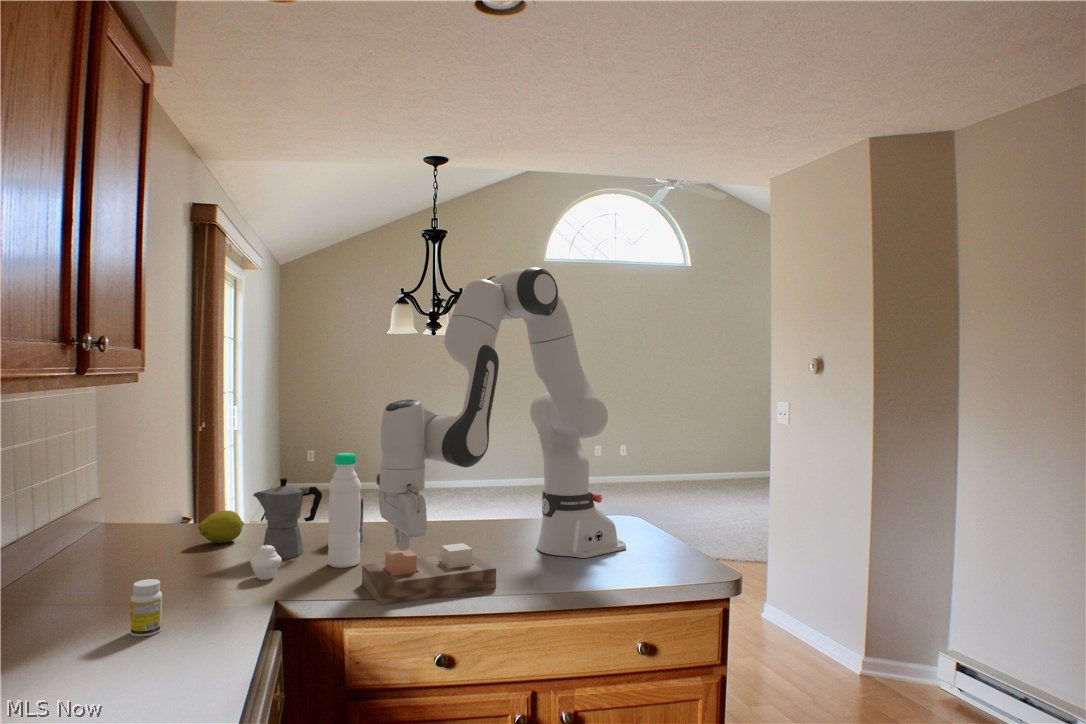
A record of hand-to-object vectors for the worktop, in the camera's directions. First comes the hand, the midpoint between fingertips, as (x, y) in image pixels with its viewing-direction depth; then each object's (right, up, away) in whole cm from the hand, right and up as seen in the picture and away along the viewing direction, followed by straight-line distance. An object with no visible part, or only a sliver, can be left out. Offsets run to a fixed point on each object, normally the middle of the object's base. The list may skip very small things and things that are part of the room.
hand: (402, 549), depth 147 cm
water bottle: (-17, -8, +17) cm, 25 cm away
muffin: (-30, -8, +7) cm, 32 cm away
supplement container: (-21, -8, +38) cm, 44 cm away
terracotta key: (0, -6, 0) cm, 6 cm away
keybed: (+5, -8, +3) cm, 10 cm away
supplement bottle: (-39, -8, -24) cm, 46 cm away
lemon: (-51, -7, +34) cm, 62 cm away
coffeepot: (-32, -8, +25) cm, 41 cm away
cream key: (+10, -6, +6) cm, 13 cm away
